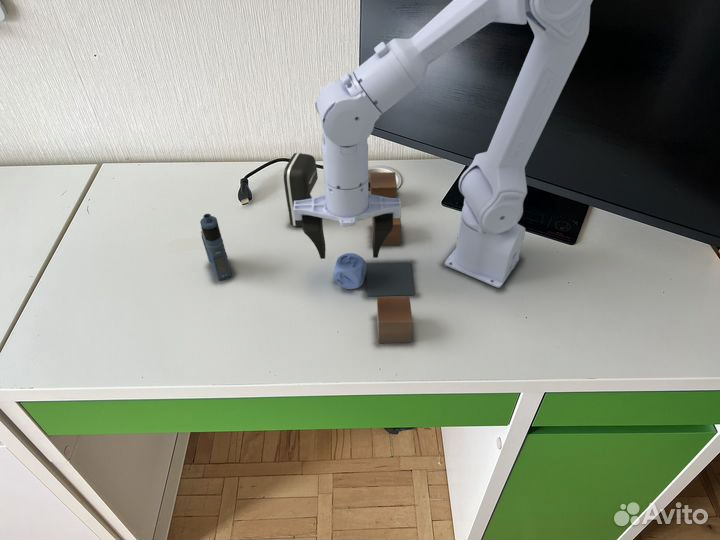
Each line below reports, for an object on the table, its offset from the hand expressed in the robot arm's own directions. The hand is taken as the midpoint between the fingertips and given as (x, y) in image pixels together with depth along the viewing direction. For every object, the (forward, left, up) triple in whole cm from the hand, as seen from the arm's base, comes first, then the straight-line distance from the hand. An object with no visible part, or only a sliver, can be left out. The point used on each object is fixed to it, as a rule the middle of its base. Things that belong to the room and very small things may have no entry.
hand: (349, 253), depth 78 cm
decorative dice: (0, 0, -6) cm, 6 cm away
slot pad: (-5, -4, -6) cm, 8 cm away
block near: (-11, +5, -6) cm, 13 cm away
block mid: (+1, -12, -6) cm, 13 cm away
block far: (+6, -20, -6) cm, 22 cm away
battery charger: (+15, -9, -6) cm, 19 cm away
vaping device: (+18, +9, -6) cm, 21 cm away
